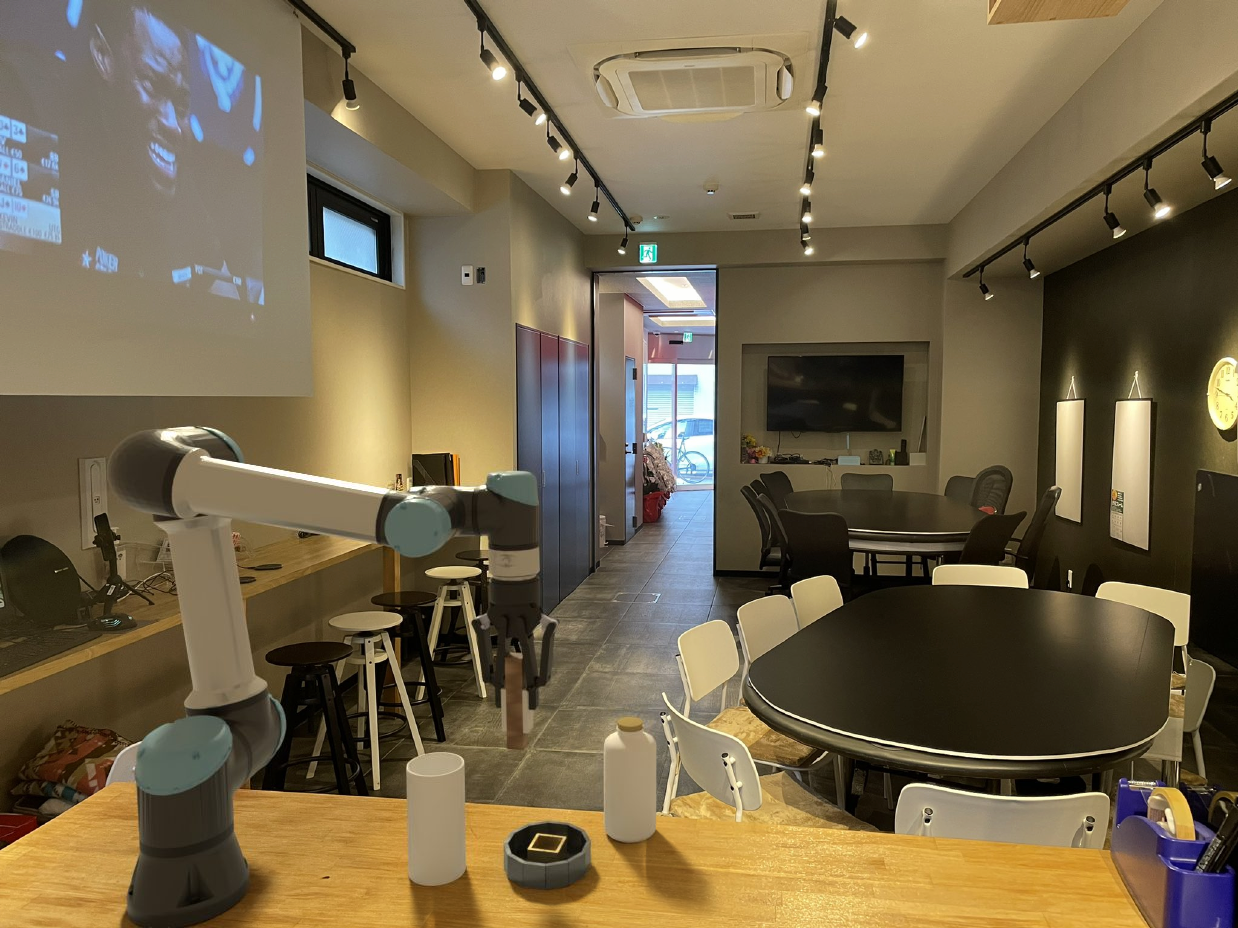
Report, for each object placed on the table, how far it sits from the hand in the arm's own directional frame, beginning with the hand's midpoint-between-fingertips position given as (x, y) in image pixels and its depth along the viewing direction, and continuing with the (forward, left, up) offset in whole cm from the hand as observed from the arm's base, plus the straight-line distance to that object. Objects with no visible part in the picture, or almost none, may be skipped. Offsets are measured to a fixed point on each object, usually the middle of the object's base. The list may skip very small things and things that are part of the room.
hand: (517, 728), depth 128 cm
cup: (-10, -8, -19) cm, 23 cm away
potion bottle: (+16, +9, -19) cm, 26 cm away
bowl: (+6, -3, -19) cm, 20 cm away
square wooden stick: (0, 0, -3) cm, 3 cm away
